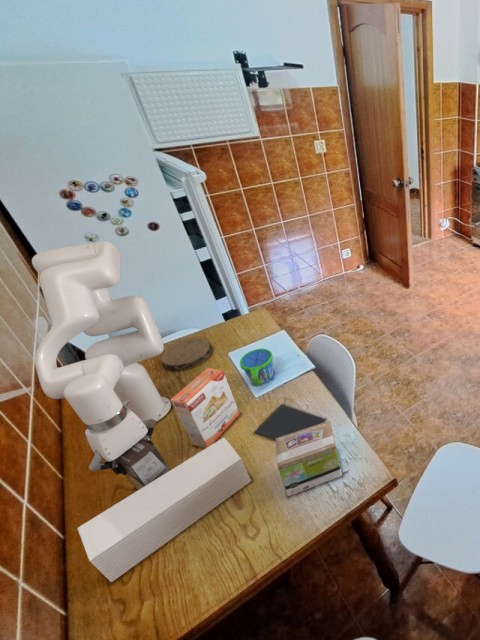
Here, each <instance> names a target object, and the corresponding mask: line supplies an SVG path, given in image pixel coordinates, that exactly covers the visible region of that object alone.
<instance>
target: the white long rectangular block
mask: <svg viewBox="0 0 480 640" xmlns="http://www.w3.org/2000/svg"><path fill="white" fill-rule="evenodd" d="M250 477H251V476H250V475H249V473H248V471H247V468H246V467H245V464H244V461H243V459H242V458H241V456H240V455H239V454H238V453H237V451H236V450H235V449H234V448H233V447H232V445H231V444H230V442H229V441H228V440H227V439H226V438H225V437H222V438H220V439H219V440H216V441H215V442H214V443H213V444H212V445H211V446H209V447H207V448H203V450H201V451H199V452H198V453H196V454H194V455H193V456H191V457H190V458H188V459H186V460H185V461H184V462H183V461H182V463H180V464H178V465H177V466H175V467H174V468H172V469H171V470H170V471H169V472H167V473H165V474H164V475H162V476H161V477H159V478H157V479H156V480H154V481H152V482H151V483H149V484H148V485H146V486H144V487H143V488H141V489H140V490H138V489H137V490H136V491H135V492H133V493H132V494H130V495H128V496H126V497H125V498H123V499H122V500H120V501H118V502H117V503H115V504H113V505H112V506H110V507H108V508H107V509H106V510H104V511H102V512H101V513H99V514H97V515H96V516H94V517H93V518H91V519H89V520H88V521H86V522H84V523H83V524H81V525H80V526H78V527H77V532H78V534H79V537H80V540H81V542H82V544H83V548H84V550H85V553H86V555H87V559H88V561H89V562H90V563H91V564H92V565H93V566H94V567H95V568H96V569H97V570H98V571H99V572H100V573H101V574H102V575H103V576H104V577H105V578H106V579H107V580H108V581H109V582H110V583H113V582H114V581H116V580H117V579H118V578H120V577H121V576H122V575H124V574H125V573H127V572H128V571H129V570H131V569H132V568H134V567H135V566H136V565H138V564H139V563H140V562H142V561H144V560H145V559H146V558H147V557H149V556H150V555H152V554H153V553H154V552H156V551H157V550H159V549H160V548H161V547H162V546H164V545H165V544H166V543H169V541H171V540H172V539H174V538H175V537H176V536H178V535H179V534H181V533H183V532H184V531H185V530H186V529H188V528H189V527H190V526H191V525H193V524H194V523H196V522H197V521H198V520H200V519H201V518H202V517H204V516H205V515H207V514H208V513H210V512H211V511H212V510H214V509H216V507H218V506H219V505H221V504H222V503H223V502H225V500H227V499H229V498H230V497H231V496H233V495H234V494H236V493H237V492H239V491H240V490H241V489H242V488H244V487H245V486H247V485H248V484H249V483H251V482H252V479H251V478H250Z"/></svg>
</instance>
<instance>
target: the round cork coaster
mask: <svg viewBox="0 0 480 640" xmlns="http://www.w3.org/2000/svg"><path fill="white" fill-rule="evenodd" d="M211 354H212V347H211V344H210V342H209V341H208V340H207V339H206V338H202V337H192V338H187V339H184V340H180V341H177V342H175V343H174V344H171V345H170V346H169V347H168V348H166V349H164V350H163V352H162V353H161V356H160V359H161V362H162V364H163V366H164V368H165V369H167V370H169V371H175V372H176V371H178V372H179V371H180V372H181V371H185V370H190V369H191V368H195V367H197V366H199V365H200V364H203V362H205V361H206V360H207V359H209V357H210V356H211Z"/></svg>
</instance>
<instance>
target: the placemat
mask: <svg viewBox="0 0 480 640" xmlns="http://www.w3.org/2000/svg"><path fill="white" fill-rule="evenodd" d="M324 422H326V419H325V418H322V417H319V416H317V415H314V414H312V413H308V412H306V411H303V410H302V411H301V410H298V409H296V408H293V407H290V406H287V405H285V404H280V406H278V407H277V409H276V410H274V412H273V413H271V415H269V417H268V418H267V419H266V420H265V421H264V422H263V423H262V424H261V425H260V426H259V427H258V428H257V429H256V430H255V431H254V433H255V434H258V435H261V436H263V437H266V438H269V439H271V440H274V441H276V440H275V439H276V438H278V437H282V436H285V435H288V434H291V433H294V432H297V431H300V430H303V429H306V428H309V427H312V426H315V425H318V424H321V423H324Z"/></svg>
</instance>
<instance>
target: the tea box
mask: <svg viewBox="0 0 480 640" xmlns="http://www.w3.org/2000/svg"><path fill="white" fill-rule="evenodd" d="M333 431H334V430H333V427H332V423H331V420H327V421H324V422H323V423H321V424H318V425H315V426H312V427H309V428H306V429H303V430H300V431H297V432H294V433H291V434H288V435H285V436H282V437H278V438H276V439H275V440H274V441H275V449H276V460H277V461H276V462H277V469H278V472H279V476H280V478H281V481H282V484H283V487H284V490H285V492H286V495H287V496H288V497H290V496H293V495H296V494H298V493H301V492H303V491H306V490H309V489H311V488H313V487H316V486H319V485H322V484H324V483H327V482H330V481H332V480H334V479H337V478H340V477H342V475H343V474H342V468H341V462H340V458H339V453H338V449H337V444H336V439H335V435H334V432H333Z"/></svg>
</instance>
